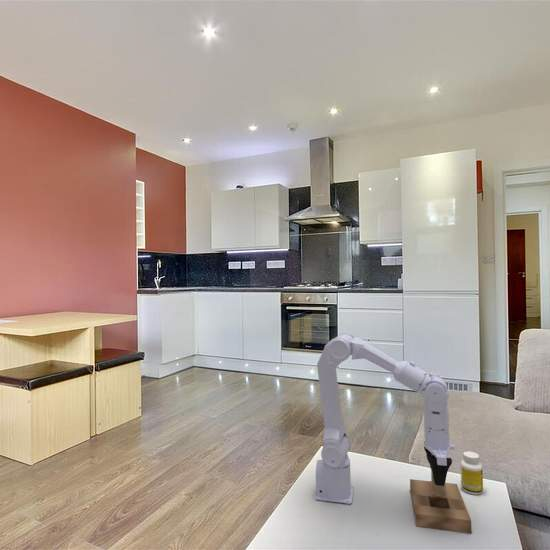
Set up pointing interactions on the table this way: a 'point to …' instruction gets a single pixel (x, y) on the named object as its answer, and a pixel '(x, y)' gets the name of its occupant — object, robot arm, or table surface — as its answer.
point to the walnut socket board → (439, 507)
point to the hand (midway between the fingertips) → (438, 480)
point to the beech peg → (437, 487)
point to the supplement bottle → (471, 474)
